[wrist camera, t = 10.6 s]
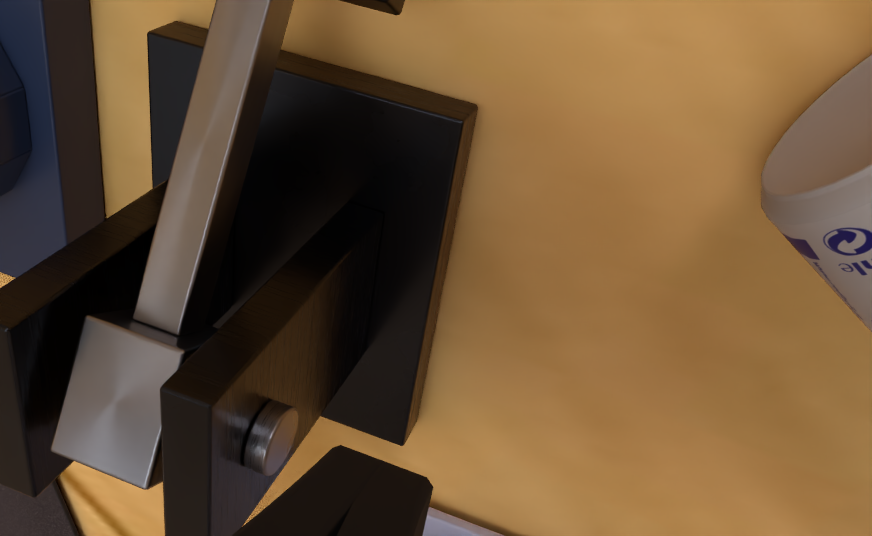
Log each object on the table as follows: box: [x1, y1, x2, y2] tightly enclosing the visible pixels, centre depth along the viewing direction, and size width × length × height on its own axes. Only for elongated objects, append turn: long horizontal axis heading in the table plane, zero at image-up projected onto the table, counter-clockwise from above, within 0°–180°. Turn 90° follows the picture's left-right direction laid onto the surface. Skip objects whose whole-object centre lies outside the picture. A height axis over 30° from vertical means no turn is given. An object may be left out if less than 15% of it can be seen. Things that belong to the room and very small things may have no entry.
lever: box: [50, 0, 405, 489], centre depth 16 cm, size 11×6×2 cm, turn 170°
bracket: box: [0, 21, 478, 536], centre depth 19 cm, size 10×8×9 cm
